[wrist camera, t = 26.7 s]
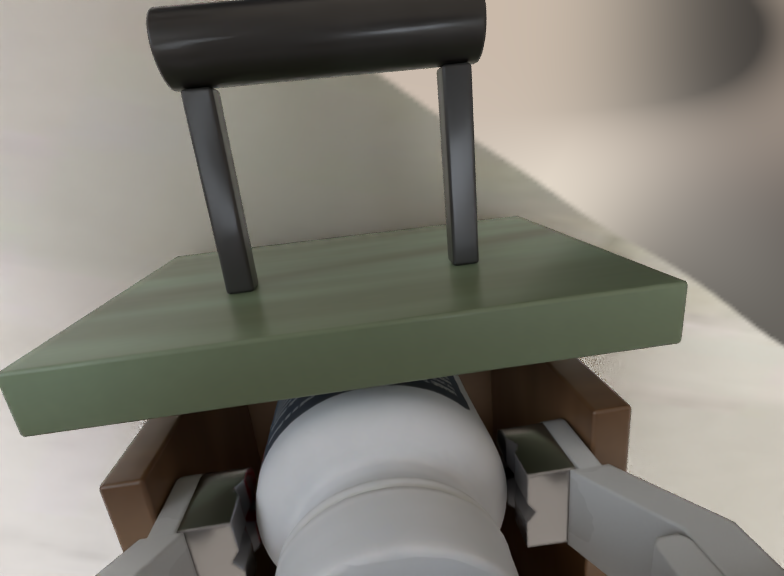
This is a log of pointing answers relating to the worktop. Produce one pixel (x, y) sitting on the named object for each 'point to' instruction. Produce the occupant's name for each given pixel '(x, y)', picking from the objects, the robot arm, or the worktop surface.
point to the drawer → (340, 284)
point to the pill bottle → (383, 485)
